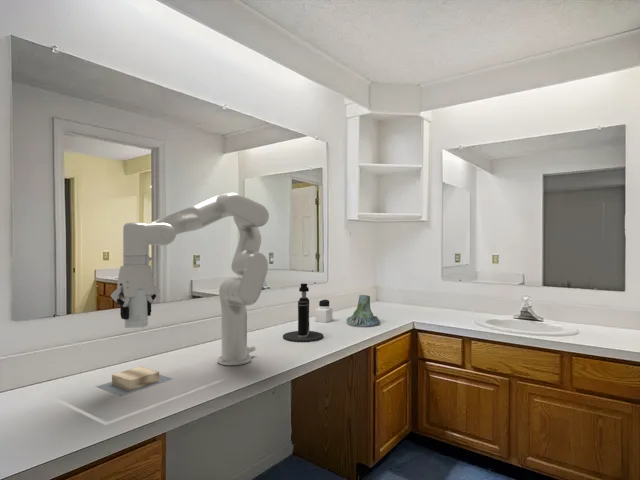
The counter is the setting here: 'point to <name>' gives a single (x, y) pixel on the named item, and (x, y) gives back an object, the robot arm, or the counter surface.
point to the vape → (303, 322)
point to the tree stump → (363, 314)
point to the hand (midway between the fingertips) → (136, 316)
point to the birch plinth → (135, 378)
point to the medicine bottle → (324, 312)
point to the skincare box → (137, 311)
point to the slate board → (122, 391)
